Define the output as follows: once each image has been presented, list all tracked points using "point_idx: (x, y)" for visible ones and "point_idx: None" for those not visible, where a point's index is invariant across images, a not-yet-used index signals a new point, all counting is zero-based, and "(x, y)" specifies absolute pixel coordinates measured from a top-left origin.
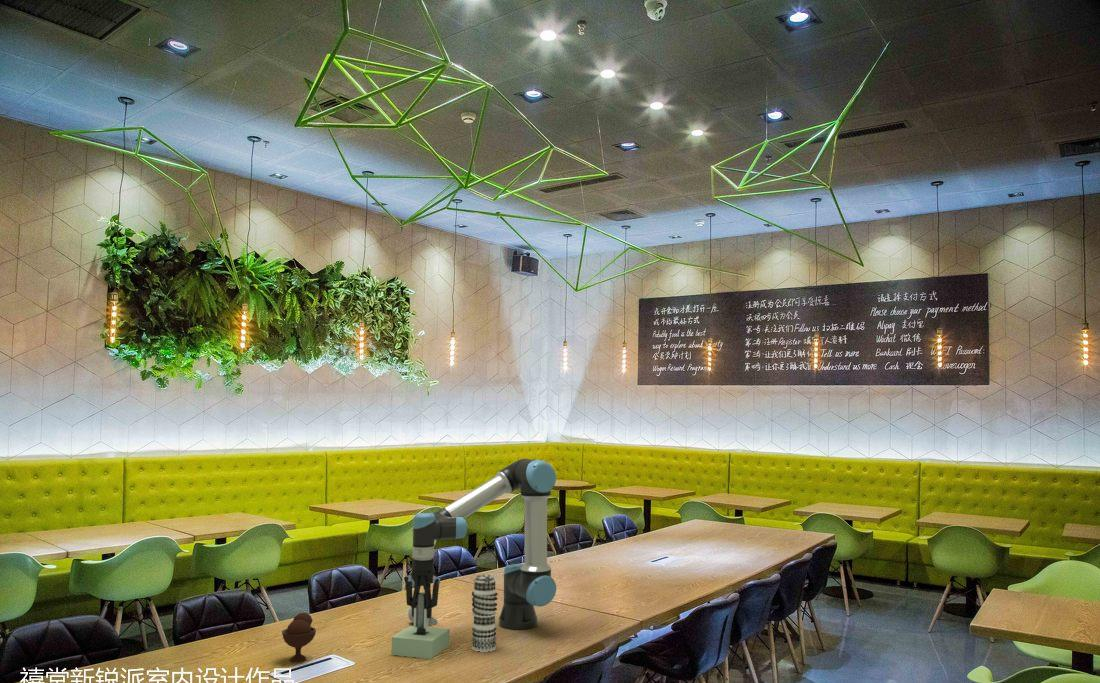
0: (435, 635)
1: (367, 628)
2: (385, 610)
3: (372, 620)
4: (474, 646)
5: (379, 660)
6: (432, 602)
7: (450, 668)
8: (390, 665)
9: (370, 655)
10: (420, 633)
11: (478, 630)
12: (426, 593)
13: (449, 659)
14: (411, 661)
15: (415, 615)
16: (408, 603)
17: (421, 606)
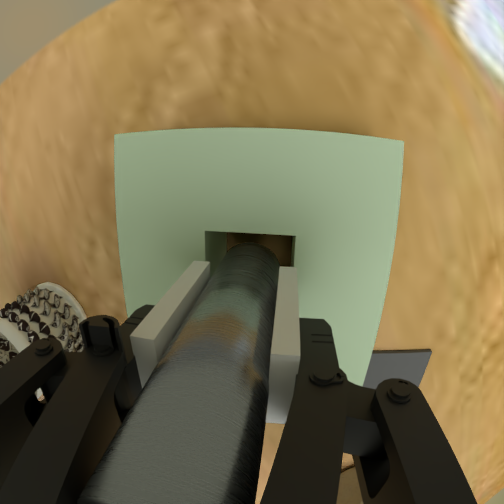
0: (142, 246)
1: (500, 411)
2: None
3: (483, 456)
4: (58, 296)
5: (389, 66)
6: (23, 370)
7: (64, 76)
8: (307, 14)
9: (455, 130)
10: (240, 248)
11: (9, 319)
12: (26, 487)
13: (94, 166)
14: (236, 82)
15: (280, 310)
16: (396, 394)
17: (177, 358)
